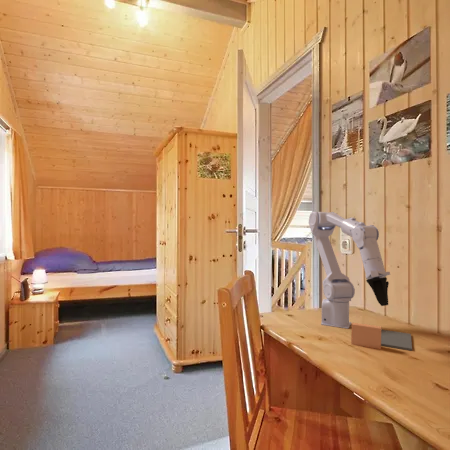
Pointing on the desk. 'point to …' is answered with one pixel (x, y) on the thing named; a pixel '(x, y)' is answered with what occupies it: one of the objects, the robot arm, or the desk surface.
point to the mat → (396, 340)
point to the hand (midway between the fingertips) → (383, 304)
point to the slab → (366, 335)
